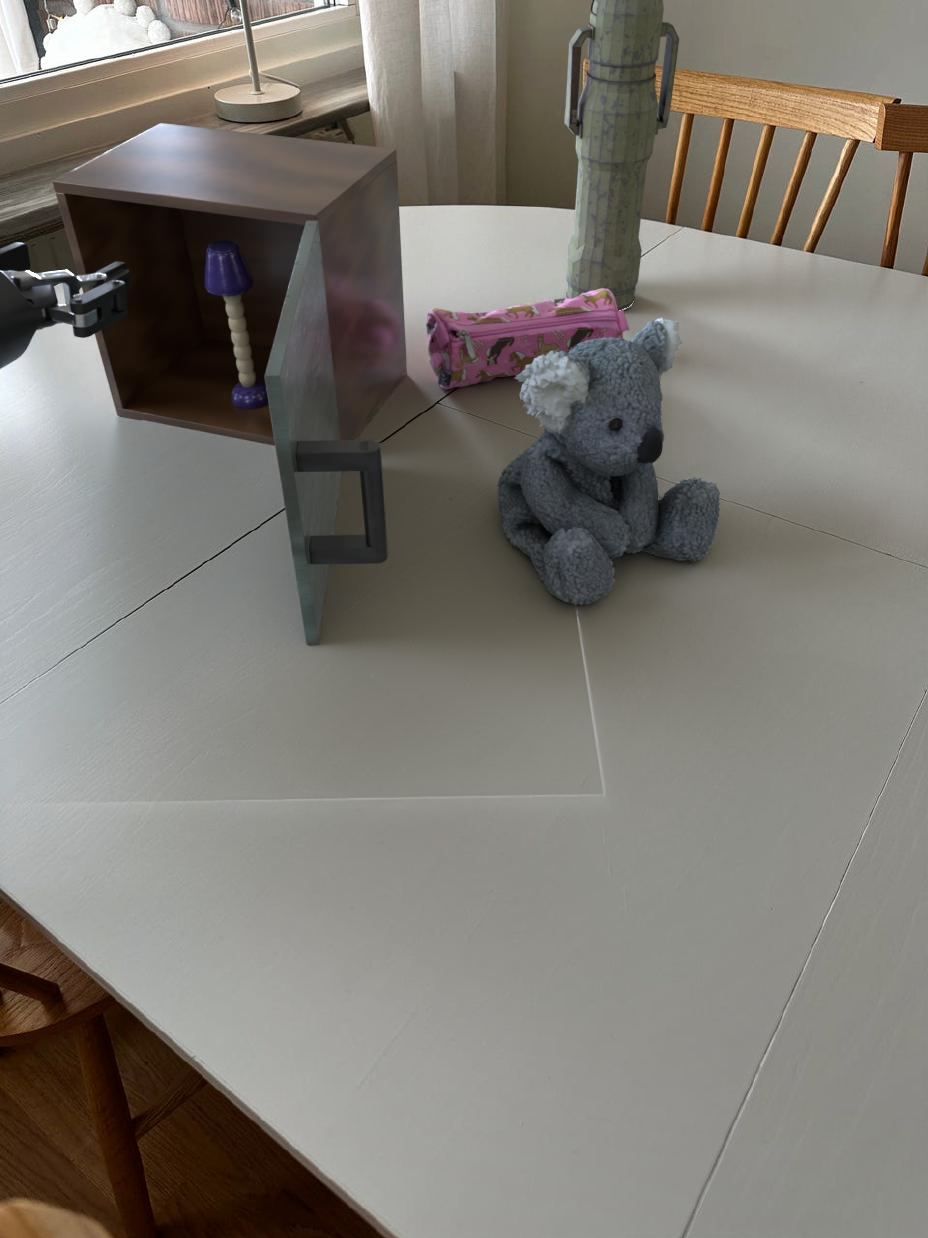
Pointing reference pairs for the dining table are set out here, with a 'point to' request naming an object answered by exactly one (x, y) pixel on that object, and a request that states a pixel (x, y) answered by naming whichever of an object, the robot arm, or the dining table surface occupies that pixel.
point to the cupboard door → (317, 441)
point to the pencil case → (516, 335)
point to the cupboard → (269, 241)
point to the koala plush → (601, 467)
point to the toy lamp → (235, 316)
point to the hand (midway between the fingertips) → (74, 264)
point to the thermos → (615, 139)
